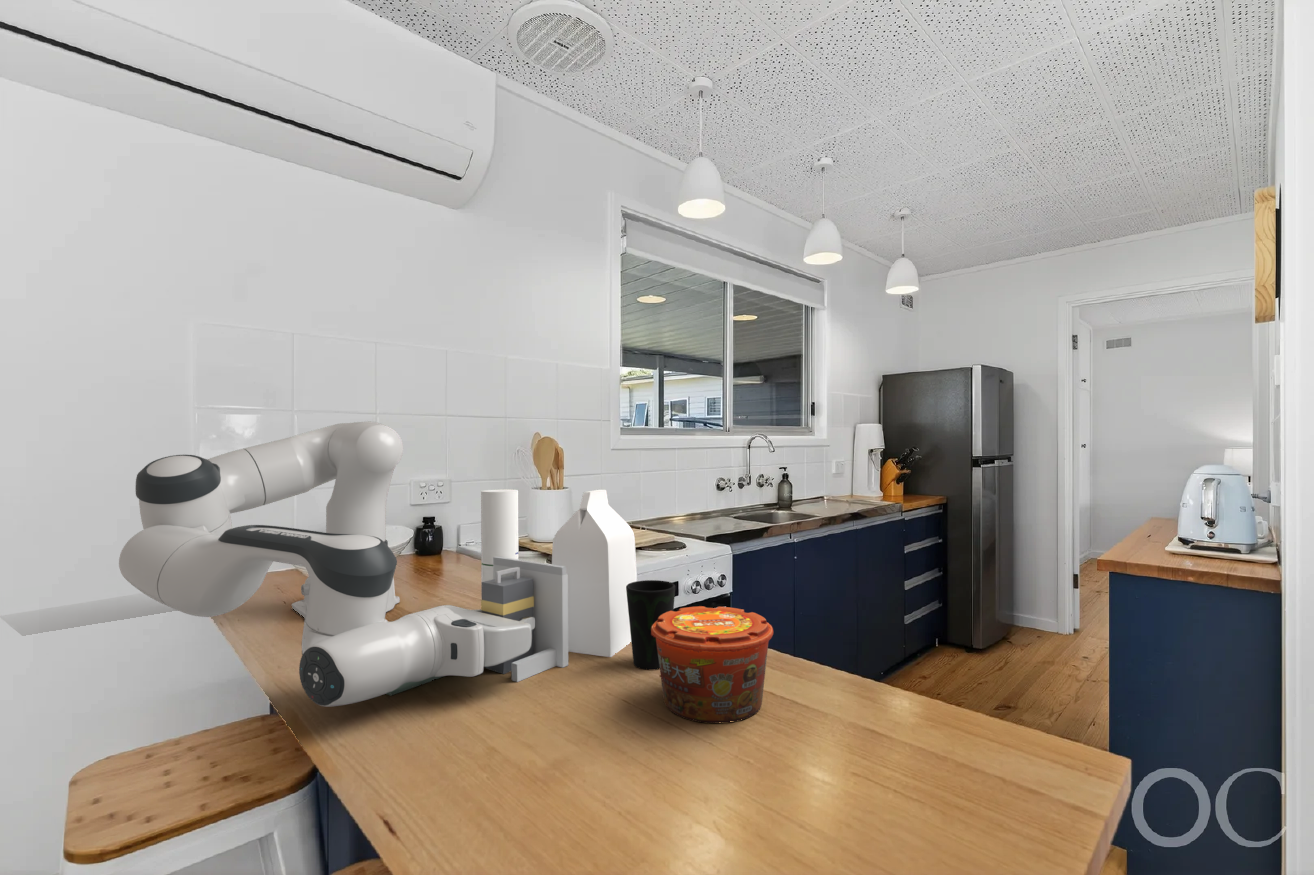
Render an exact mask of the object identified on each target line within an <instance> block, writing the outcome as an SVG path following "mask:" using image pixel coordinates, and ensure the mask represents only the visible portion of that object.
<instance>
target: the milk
mask: <svg viewBox="0 0 1314 875" xmlns="http://www.w3.org/2000/svg"><path fill="white" fill-rule="evenodd" d="M582 493H583V494H582V495H581V496H582V497H581V502H580V504H579V509H578V510H577V511H575V512H574V513H573V514H572V516H571V517H570V518H569V519H568V520H567V521H566V522H565V523H564V524H563V525H562V526H561V527H560V528H559V529H558V530H557V532H556V533H555V534H554V537H553V539H552V551H551V552H552V553H551V554H552V555H551V565H558V566H564V567H566V574H568V653H569V652H571V653H577V654H582V655H583V654H584V655H590V656H591V655H593V656H598V657H606V658H612V657H613V656H615V655H616V654H617V653H619V652H620V651H621V650H622V649H624V648H625V647H627V646H629V644H630V642H631V633H630V623H629V613H628V602H627V592H626V586H627V585H628V584H629V583H632V582H636V581H638V572H637V571H638V570H637V557H636V556H637V555H636V541H635V540H636V539H635V534H634V531H633V529H632V528H631V526H630V525H629V523H627V521H626V520H625V519H624V518H623V517H622V516H621V515H620V514H618V513H617V512H616V510H614V509H613V507H611V506H610V504H609V500H608V499H609V498H608V493H607V489H594V490H589V491H583V492H582ZM626 645H627V646H626ZM615 653H616V654H615Z"/></svg>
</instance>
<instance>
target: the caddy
mask: <svg viewBox="0 0 1314 875" xmlns="http://www.w3.org/2000/svg"><path fill="white" fill-rule="evenodd" d="M511 572H514V575H510V576H506V577H502V578H501V575H502V574H507V573H511ZM533 607H534V596H533V579H531V578H525V577H520V567H515V568H510V569H505V570H501V571H496V572H495V579H493V580H489V581H484V582H482V596H481V599H480V609H481V610H482V613H486V614H490V615H494V616H499V617H503V618H507V619H511V620H516V621H520V618H522V617H525V616H528V617H533V618H534V608H533ZM531 631H532V643H531V647H530V649H529V651H527V652H526V653H524V654H522V655H520V656H518V657H515V658H513V659H511V660H508V661H506V662H503V663H501V664H498V665H494V666H489V667H483V669H486V670H489V671H492V672H496V673H498V674H499V673H500V674H503V675H505V674H507V673H511V672H512V663H513V662H515V661H518V660H520V659H523V658H526V657H528V656H531V655H534V629H533V630H531Z"/></svg>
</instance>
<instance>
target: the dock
mask: <svg viewBox="0 0 1314 875" xmlns="http://www.w3.org/2000/svg"><path fill="white" fill-rule="evenodd" d="M515 567H520V577H525V578H531V579H533V596H534V607H533V608H534V618H535V628H534V655H531V656H528V657H526V658H523V659H520V660H518V661H515V662H513V663H512V671H511V681H513V682H516V683H519V682H520V681H524V680H526V679H528V678H531V677H533V676H536V675H538V674H539V673H543V672H544V671H547V670H550V669H552V668H554V667H559V668H565V667H568V666H569V652H568V574H566V567H564V566H558V565H552V563H544V562H543V563H542V562H537V561H530V560H524V559H519V558H518V559H511V558H504V557H498V556H497V557H493V579H495V572H496V571H501V570H505V569H510V568H515ZM510 575H514V572H511V573H507V574H502V575H501V578H502V577H506V576H510Z"/></svg>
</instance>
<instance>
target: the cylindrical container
mask: <svg viewBox="0 0 1314 875" xmlns="http://www.w3.org/2000/svg"><path fill="white" fill-rule="evenodd" d="M480 521H481V522H480V528H481V529H480V530H481V532H480V536H481V538H480V539H481V540H480V541H481V542H480V546H481V547H480V548H481V549H480V550H481V551H480V553H481V554H480V555H481V556H480V558H481V561H480V562H481V563H480V564H481V566H480V568H481V570H480V571H481V575H480V576H481V577H480V578H481V581H480V582H481V583H480V584H481V591H480V592H481V597H482V582H484V581H489V580H493V557H497V556H498V557H504V558H511V559H518V560H519V490H518V489H514V488H513V489H510V488H509V489H508V488H507V489H504V488H503V489H499V488H498V489H485V490H480Z"/></svg>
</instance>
